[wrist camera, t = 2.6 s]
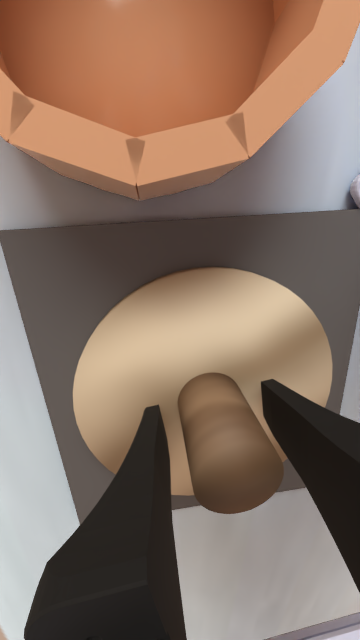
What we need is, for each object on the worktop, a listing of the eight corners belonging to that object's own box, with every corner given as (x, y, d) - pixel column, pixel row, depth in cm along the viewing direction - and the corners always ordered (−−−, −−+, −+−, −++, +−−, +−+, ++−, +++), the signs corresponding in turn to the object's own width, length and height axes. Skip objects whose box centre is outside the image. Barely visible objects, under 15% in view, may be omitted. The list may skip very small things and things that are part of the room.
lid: (363, 382, 15) (469, 457, 10) (198, 513, 17) (219, 629, 12) (218, 200, 11) (278, 177, 6) (19, 401, 13) (-60, 510, 8)
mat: (370, 208, 12) (377, 208, 12) (322, 478, 18) (326, 483, 17) (2, 230, 10) (-3, 230, 10) (82, 518, 16) (80, 525, 16)
